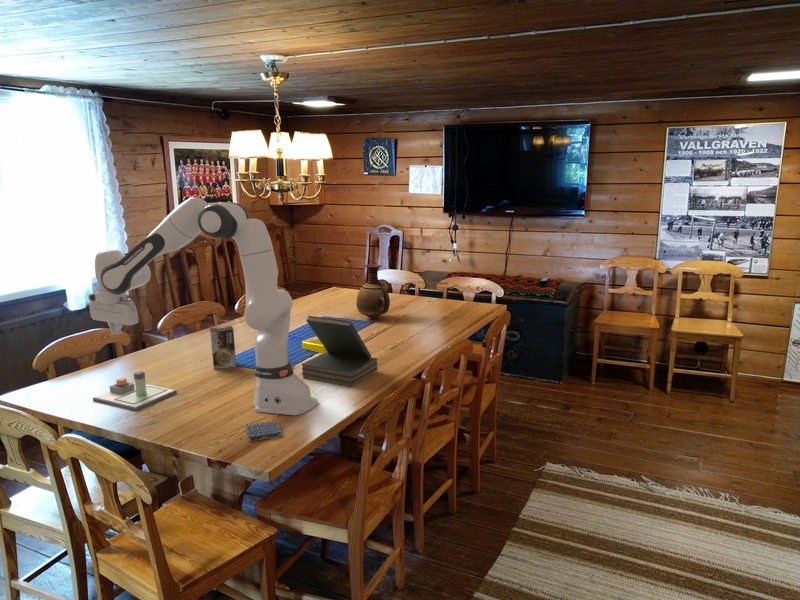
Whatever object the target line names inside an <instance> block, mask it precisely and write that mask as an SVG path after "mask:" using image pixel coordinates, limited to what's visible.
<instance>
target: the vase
mask: <svg viewBox="0 0 800 600" xmlns="http://www.w3.org/2000/svg"><path fill="white" fill-rule="evenodd" d="M364 267H365V268H366V269H367V271H368V279H367V281H366V283H364V284H362V286H361V287H360V289H359V290H358V293H357V297H356V310H357V311H358V313H359V314H362V316H366V317H368V318H370V319H371V318H375V319H376V318H378V317H380V316H382V315H385V314H387V313H388V311H389V310H390V305H391V300H390V294H389V291H388V288H387V287H386V286H385V283H382V282H380V281H379V276H378V272H379V269H380V268H381V267H383V265H381V264H375V263H370V264H369V263H368V264H364Z"/></svg>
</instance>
